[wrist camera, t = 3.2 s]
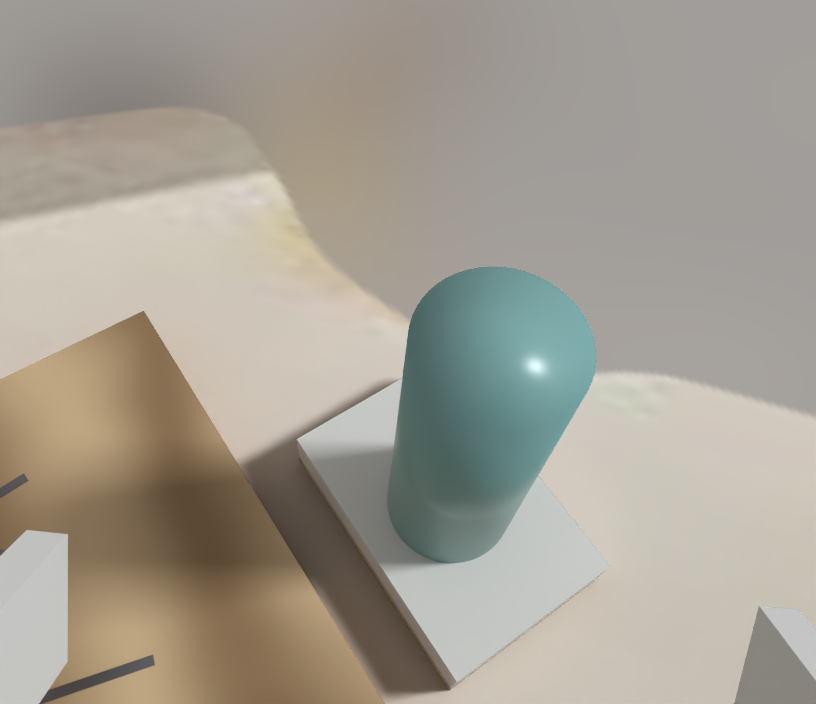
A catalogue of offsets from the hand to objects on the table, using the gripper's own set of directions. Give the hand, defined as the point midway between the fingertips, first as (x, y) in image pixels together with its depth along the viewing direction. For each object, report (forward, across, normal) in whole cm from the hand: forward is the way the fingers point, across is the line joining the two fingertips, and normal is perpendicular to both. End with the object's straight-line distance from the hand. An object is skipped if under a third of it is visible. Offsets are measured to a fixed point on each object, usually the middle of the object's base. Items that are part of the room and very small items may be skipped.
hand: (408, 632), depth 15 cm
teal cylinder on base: (+12, +2, -3) cm, 12 cm away
